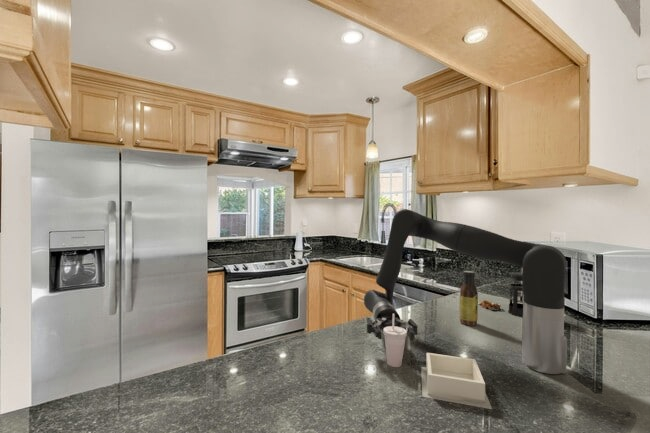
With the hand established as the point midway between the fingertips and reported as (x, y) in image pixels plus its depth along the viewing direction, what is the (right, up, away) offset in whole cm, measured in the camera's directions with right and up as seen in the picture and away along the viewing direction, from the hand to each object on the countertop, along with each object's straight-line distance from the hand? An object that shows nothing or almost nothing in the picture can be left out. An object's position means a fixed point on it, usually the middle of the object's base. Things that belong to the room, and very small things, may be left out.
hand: (395, 336), depth 82 cm
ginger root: (+55, -10, +57) cm, 80 cm away
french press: (+65, -10, +48) cm, 81 cm away
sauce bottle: (+36, -9, +35) cm, 51 cm away
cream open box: (+11, -8, -9) cm, 17 cm away
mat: (+11, -9, -9) cm, 17 cm away
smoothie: (0, -9, +1) cm, 9 cm away
